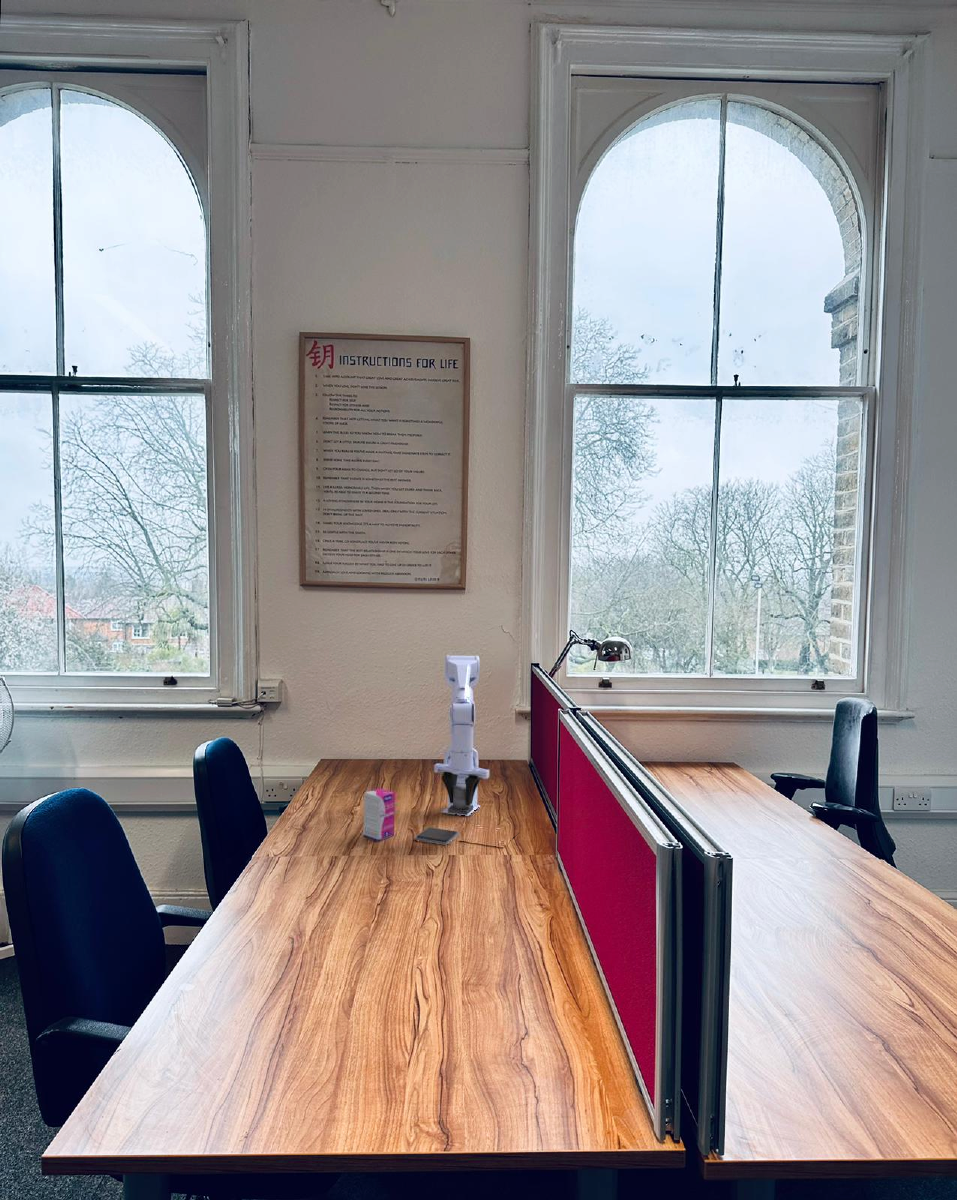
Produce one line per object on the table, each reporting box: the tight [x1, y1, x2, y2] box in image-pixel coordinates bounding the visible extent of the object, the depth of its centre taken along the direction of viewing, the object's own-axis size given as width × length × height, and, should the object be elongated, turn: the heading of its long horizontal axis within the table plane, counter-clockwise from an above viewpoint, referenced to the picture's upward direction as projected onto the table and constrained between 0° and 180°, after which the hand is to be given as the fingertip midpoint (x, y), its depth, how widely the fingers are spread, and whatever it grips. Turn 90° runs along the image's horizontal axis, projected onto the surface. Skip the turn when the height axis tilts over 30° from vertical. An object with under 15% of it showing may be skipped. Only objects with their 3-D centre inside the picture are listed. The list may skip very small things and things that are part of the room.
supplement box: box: [362, 787, 396, 842], centre depth 191 cm, size 6×6×12 cm
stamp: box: [447, 785, 473, 815], centre depth 191 cm, size 5×5×6 cm
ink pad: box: [413, 826, 460, 846], centre depth 191 cm, size 8×9×1 cm
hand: (461, 803), depth 191 cm, fingers closed on stamp, 4 cm apart
